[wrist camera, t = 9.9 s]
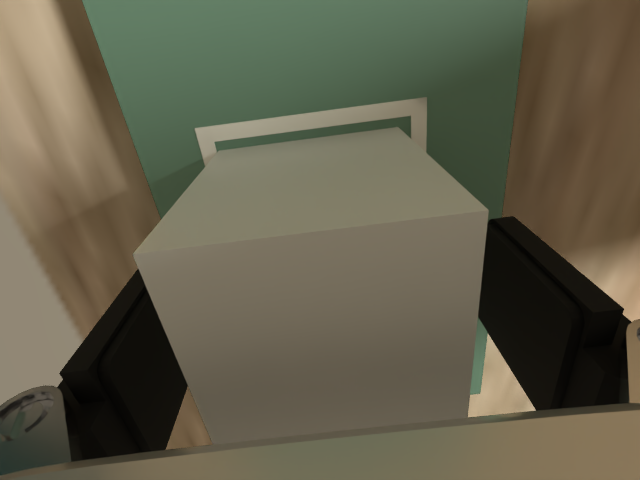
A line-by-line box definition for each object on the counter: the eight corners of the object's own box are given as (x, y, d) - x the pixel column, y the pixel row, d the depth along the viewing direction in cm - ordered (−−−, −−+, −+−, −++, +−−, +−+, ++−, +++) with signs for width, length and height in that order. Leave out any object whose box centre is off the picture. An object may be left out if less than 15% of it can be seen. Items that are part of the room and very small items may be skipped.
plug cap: (218, 150, 10) (129, 258, 5) (397, 126, 10) (492, 212, 5) (272, 360, 14) (252, 543, 9) (402, 345, 13) (459, 523, 8)
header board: (-180, -852, 5) (-326, -1119, 4) (602, -1031, 4) (698, -1382, 3) (238, 395, 16) (233, 421, 15) (468, 370, 16) (480, 394, 15)
